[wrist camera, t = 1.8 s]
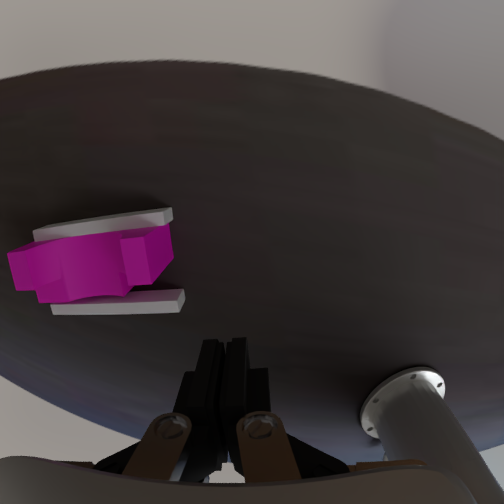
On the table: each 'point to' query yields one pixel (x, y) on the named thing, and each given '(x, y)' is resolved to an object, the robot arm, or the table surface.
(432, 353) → the table surface
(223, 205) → the table surface
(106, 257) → the toy block
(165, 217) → the guide channel
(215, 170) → the table surface
